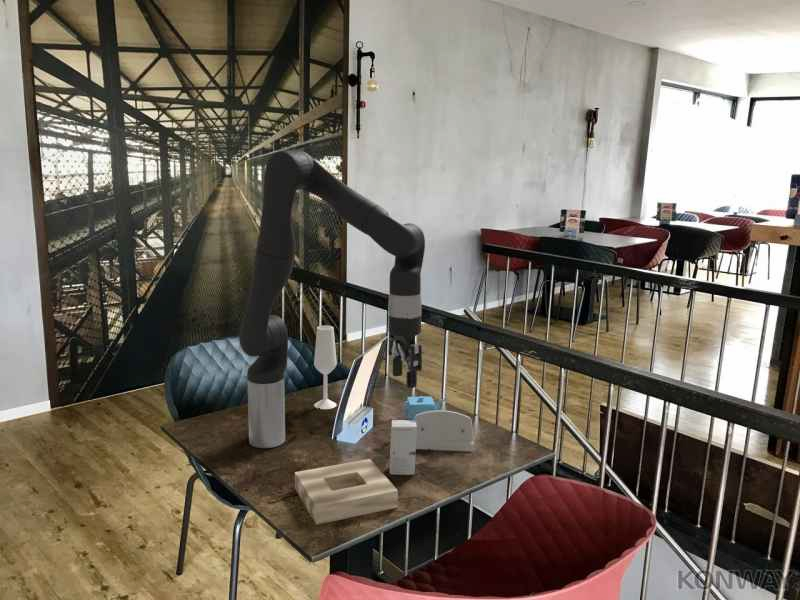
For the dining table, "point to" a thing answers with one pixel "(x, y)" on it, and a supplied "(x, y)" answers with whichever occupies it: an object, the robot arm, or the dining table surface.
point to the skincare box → (403, 447)
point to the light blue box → (419, 406)
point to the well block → (345, 491)
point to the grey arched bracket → (444, 431)
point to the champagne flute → (325, 360)
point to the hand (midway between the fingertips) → (404, 381)
